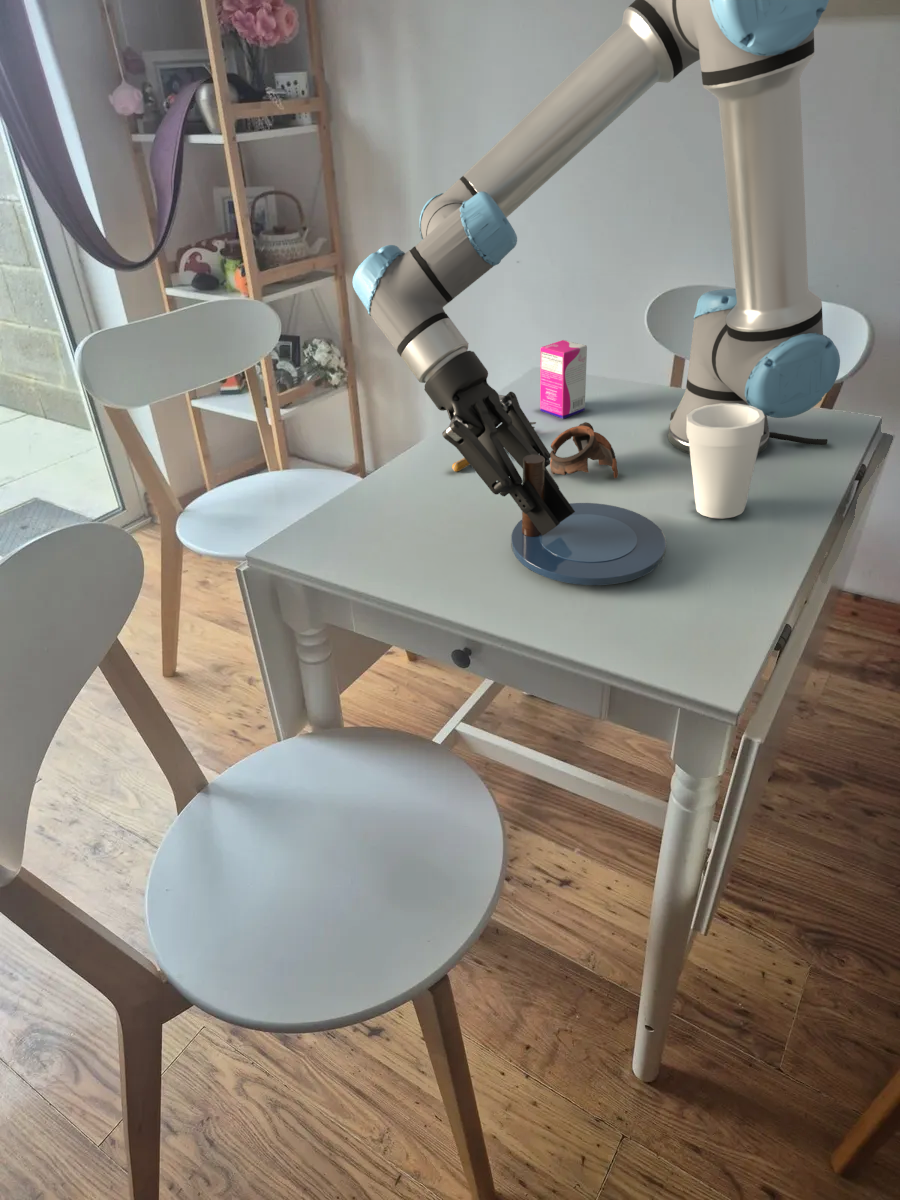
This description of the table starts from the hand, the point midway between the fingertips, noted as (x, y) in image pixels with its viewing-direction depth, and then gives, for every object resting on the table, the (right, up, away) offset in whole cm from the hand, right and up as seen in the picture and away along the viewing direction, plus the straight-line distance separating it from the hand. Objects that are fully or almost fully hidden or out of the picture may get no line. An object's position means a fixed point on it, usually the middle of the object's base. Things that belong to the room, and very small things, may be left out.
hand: (558, 523), depth 100 cm
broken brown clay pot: (+7, +10, +22) cm, 25 cm away
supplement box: (+6, +24, +44) cm, 50 cm away
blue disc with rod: (+4, -2, +2) cm, 5 cm away
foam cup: (+23, +3, +11) cm, 26 cm away
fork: (-6, +14, +30) cm, 34 cm away
